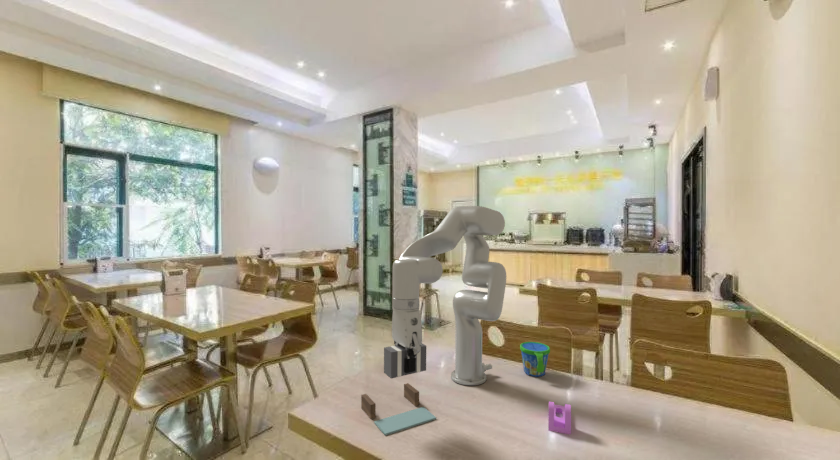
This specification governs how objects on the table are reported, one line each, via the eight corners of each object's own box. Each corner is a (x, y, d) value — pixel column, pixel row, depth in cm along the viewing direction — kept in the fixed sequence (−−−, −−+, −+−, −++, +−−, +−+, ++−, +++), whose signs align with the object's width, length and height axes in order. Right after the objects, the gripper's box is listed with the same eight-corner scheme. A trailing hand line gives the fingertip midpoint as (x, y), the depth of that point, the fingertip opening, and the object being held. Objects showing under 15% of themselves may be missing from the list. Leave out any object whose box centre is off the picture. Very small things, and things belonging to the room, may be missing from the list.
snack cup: (553, 383, 127) (554, 354, 127) (522, 381, 129) (522, 352, 129) (545, 366, 143) (545, 340, 143) (517, 364, 144) (517, 338, 144)
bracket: (570, 435, 97) (571, 408, 97) (548, 430, 99) (548, 405, 99) (569, 411, 109) (569, 388, 109) (549, 407, 111) (549, 385, 111)
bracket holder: (408, 395, 118) (408, 383, 118) (419, 404, 112) (419, 391, 112) (361, 408, 110) (361, 394, 110) (370, 418, 104) (370, 404, 104)
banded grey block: (418, 365, 107) (418, 341, 107) (426, 370, 103) (426, 345, 103) (383, 372, 102) (384, 347, 101) (391, 378, 98) (391, 352, 98)
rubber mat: (423, 408, 110) (423, 406, 110) (436, 419, 104) (436, 417, 104) (374, 423, 102) (374, 421, 102) (385, 435, 96) (385, 433, 96)
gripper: (433, 308, 97) (433, 377, 97) (403, 297, 111) (402, 356, 112) (408, 311, 93) (408, 383, 93) (380, 299, 108) (380, 361, 108)
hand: (405, 368), depth 102 cm, fingers closed on banded grey block, 4 cm apart
